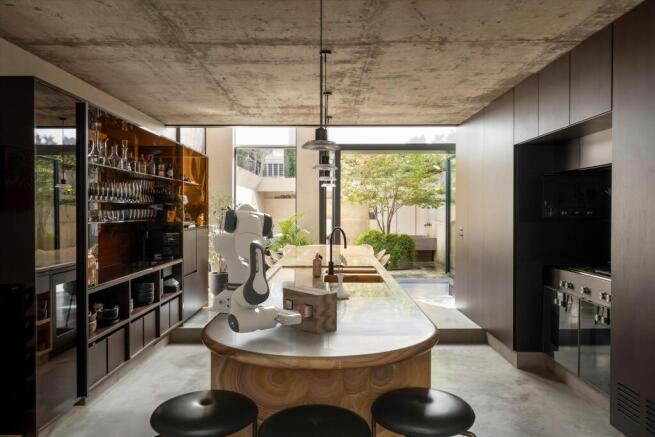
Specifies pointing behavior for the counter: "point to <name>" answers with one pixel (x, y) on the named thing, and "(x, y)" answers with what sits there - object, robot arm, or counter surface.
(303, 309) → the plunger right
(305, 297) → the button panel
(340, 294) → the flower in vase
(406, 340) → the counter surface
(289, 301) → the plunger left
